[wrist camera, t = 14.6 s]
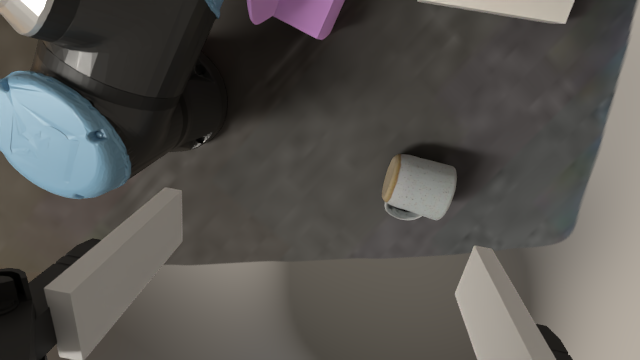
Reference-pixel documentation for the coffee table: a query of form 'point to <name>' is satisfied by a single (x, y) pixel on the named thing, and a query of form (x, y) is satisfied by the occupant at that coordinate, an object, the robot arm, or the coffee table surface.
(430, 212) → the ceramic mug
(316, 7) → the toy chair
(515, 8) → the socket block
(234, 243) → the coffee table surface
